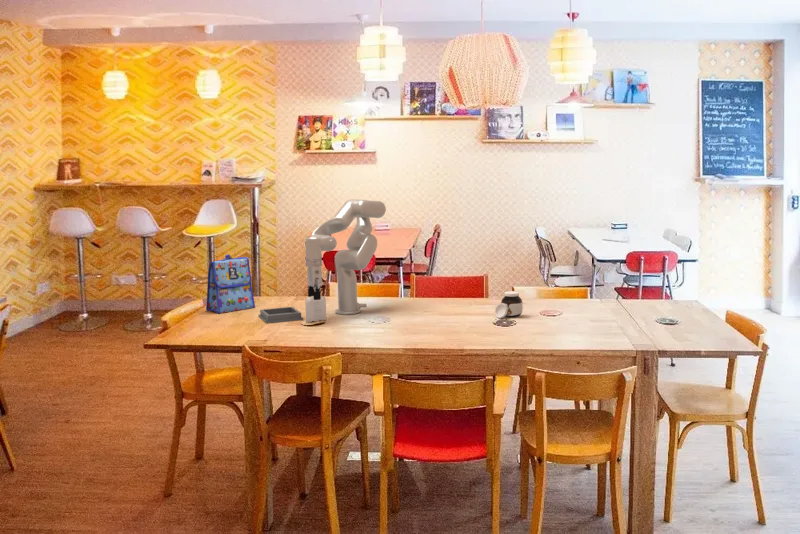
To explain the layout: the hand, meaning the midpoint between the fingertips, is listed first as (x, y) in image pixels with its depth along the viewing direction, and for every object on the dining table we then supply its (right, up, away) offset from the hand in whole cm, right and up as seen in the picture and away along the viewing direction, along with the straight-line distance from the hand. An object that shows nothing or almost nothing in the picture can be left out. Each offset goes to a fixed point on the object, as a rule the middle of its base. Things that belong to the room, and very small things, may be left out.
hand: (314, 298), depth 410 cm
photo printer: (+1, -11, +2) cm, 11 cm away
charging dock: (-18, -10, +10) cm, 23 cm away
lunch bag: (-47, -7, +35) cm, 59 cm away
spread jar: (+93, -9, +2) cm, 94 cm away
